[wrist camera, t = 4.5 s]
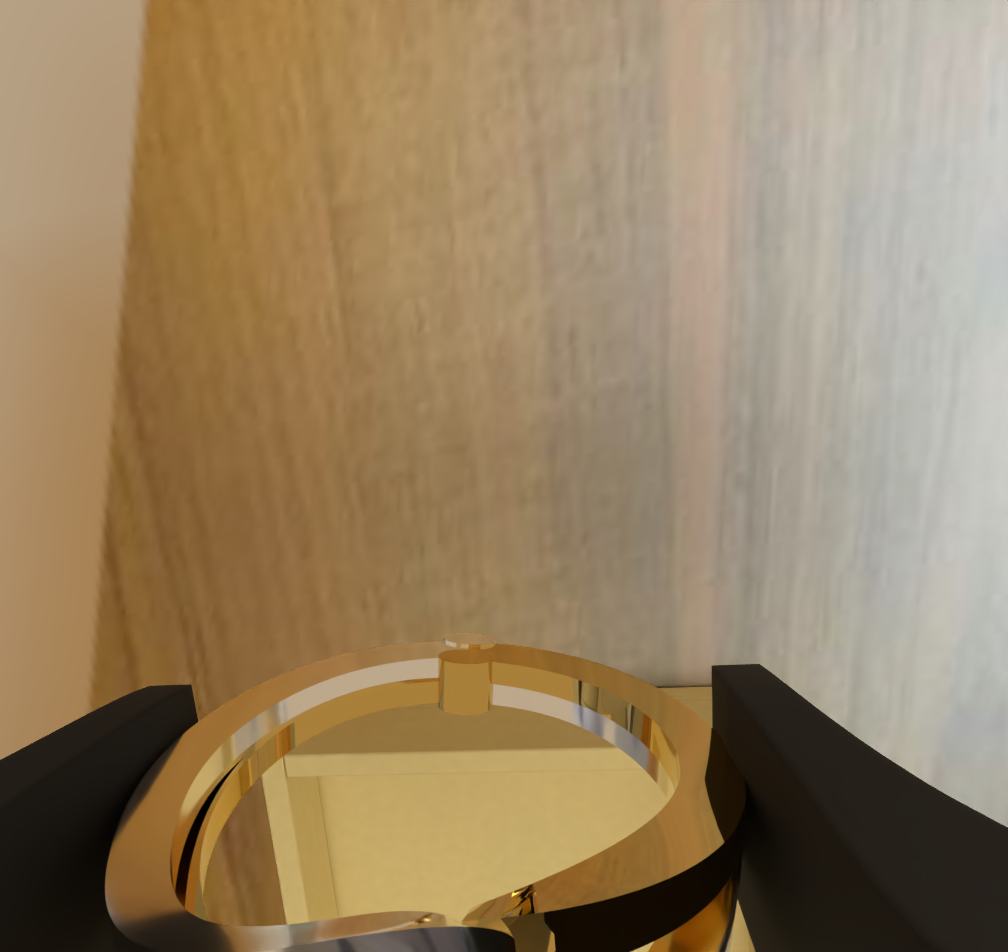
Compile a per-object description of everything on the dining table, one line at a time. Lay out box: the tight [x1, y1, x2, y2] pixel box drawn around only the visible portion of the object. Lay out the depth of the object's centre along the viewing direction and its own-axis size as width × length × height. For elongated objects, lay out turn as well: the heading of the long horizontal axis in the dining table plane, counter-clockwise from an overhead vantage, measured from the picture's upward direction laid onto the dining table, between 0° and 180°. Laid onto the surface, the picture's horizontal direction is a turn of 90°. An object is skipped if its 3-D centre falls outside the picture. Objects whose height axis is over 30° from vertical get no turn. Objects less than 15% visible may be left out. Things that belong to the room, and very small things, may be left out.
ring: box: [105, 633, 746, 952], centre depth 10 cm, size 7×3×8 cm, turn 89°
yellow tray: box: [261, 687, 755, 952], centre depth 21 cm, size 12×12×3 cm
